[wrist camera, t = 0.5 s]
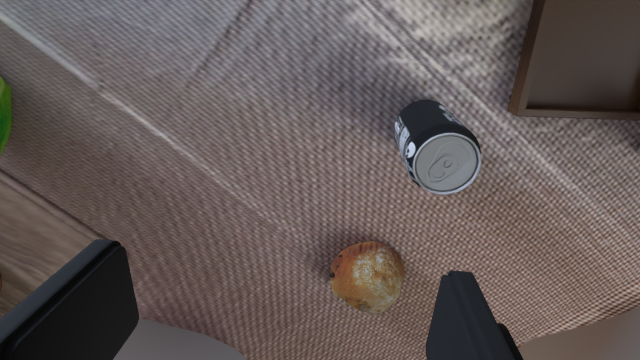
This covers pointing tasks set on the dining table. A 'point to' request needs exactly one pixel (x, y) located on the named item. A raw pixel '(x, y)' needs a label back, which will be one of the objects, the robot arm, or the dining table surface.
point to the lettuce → (5, 113)
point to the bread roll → (367, 276)
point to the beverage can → (437, 148)
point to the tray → (580, 61)
